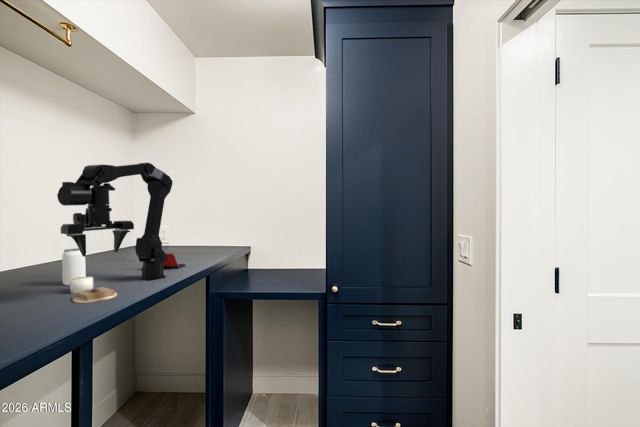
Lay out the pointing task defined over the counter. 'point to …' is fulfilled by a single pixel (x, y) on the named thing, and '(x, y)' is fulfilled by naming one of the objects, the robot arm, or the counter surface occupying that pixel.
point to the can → (73, 265)
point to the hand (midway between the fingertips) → (100, 254)
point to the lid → (95, 293)
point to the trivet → (93, 300)
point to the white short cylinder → (81, 284)
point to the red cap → (171, 263)
